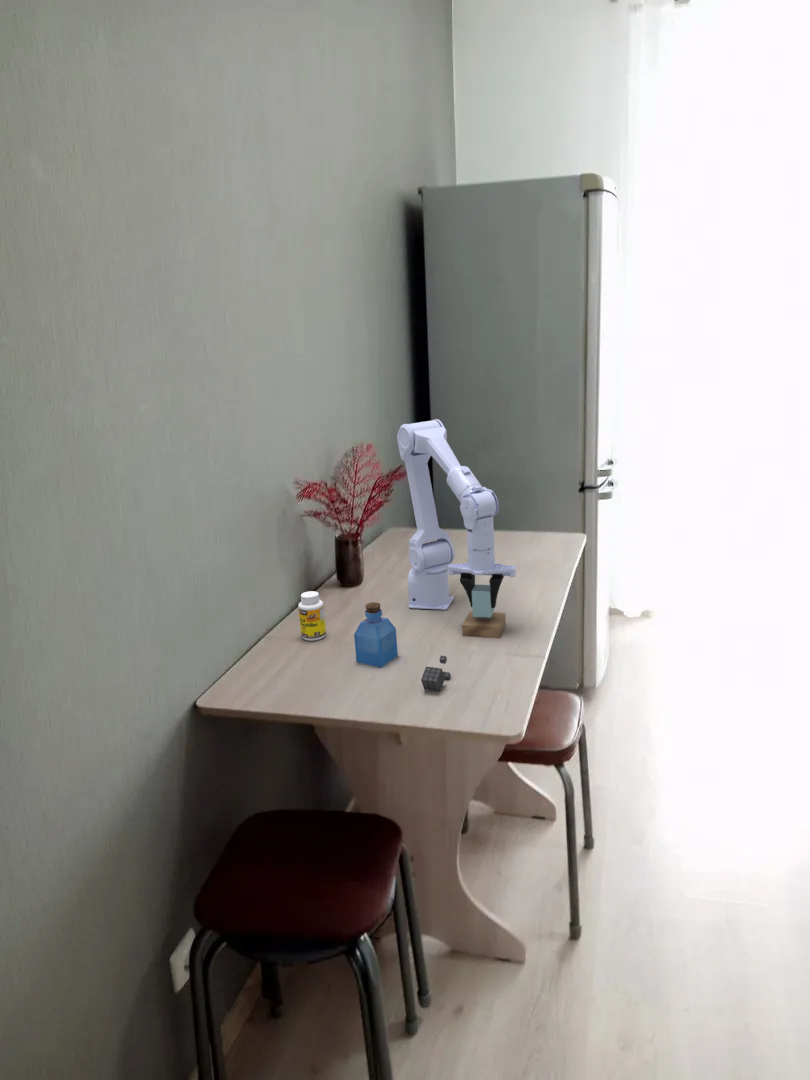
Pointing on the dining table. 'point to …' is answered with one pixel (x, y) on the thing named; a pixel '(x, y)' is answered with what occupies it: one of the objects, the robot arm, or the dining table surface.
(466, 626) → the walnut base block
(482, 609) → the teal block
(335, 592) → the dining table surface
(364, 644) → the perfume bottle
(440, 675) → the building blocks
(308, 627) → the supplement bottle
